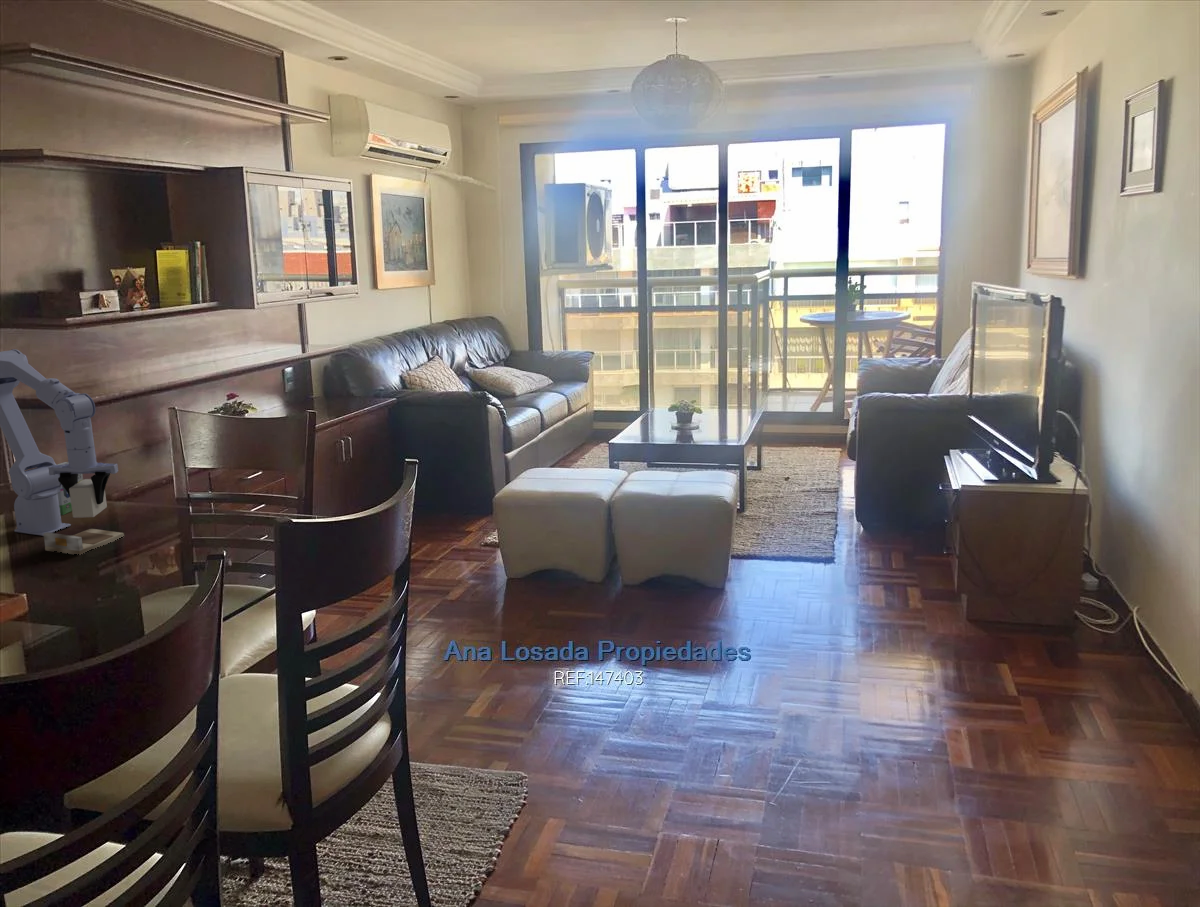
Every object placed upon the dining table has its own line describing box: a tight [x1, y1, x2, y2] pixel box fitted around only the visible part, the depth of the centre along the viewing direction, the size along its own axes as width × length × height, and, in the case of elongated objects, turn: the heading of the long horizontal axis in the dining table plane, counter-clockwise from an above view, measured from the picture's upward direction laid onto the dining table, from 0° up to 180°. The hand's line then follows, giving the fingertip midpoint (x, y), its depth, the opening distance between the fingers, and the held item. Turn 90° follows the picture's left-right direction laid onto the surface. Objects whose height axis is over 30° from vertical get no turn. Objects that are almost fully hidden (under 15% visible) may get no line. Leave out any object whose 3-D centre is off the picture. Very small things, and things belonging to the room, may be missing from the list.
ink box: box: [56, 461, 84, 516], centre depth 243 cm, size 9×5×12 cm, turn 168°
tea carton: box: [69, 478, 108, 519], centre depth 220 cm, size 5×8×7 cm, turn 7°
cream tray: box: [43, 528, 125, 556], centre depth 219 cm, size 10×13×4 cm
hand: (88, 503), depth 220 cm, fingers closed on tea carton, 5 cm apart
